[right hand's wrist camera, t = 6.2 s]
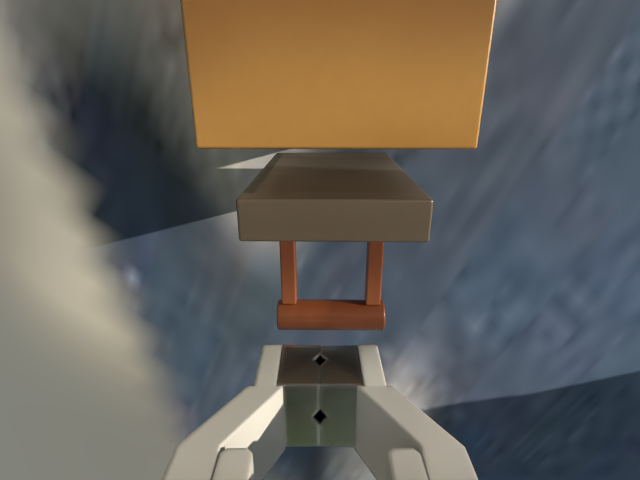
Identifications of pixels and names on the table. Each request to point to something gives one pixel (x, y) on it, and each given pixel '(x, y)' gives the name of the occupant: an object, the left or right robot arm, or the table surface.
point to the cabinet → (337, 72)
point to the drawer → (333, 225)
